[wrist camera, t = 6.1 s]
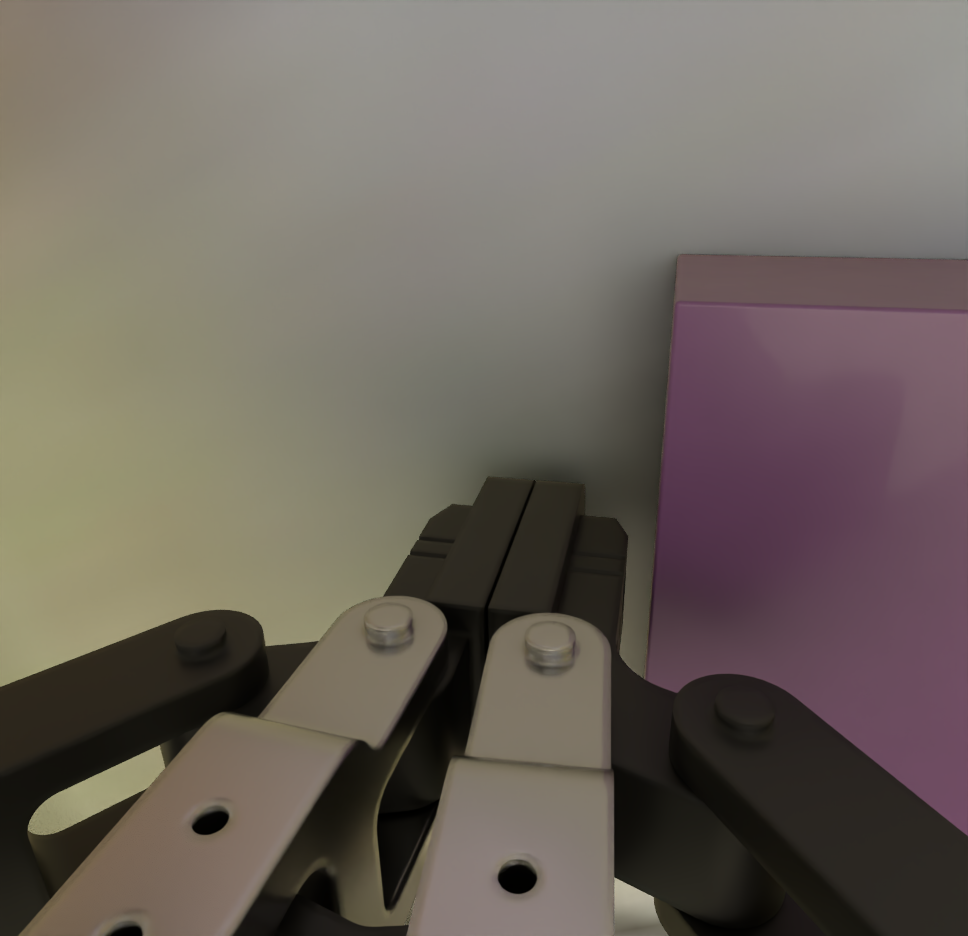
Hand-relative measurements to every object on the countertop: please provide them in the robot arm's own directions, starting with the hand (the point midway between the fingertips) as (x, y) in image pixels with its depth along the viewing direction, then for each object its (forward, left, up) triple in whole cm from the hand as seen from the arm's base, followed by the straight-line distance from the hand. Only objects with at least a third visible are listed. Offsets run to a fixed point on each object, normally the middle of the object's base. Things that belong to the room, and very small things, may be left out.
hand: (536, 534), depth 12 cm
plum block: (0, +4, -1) cm, 4 cm away
